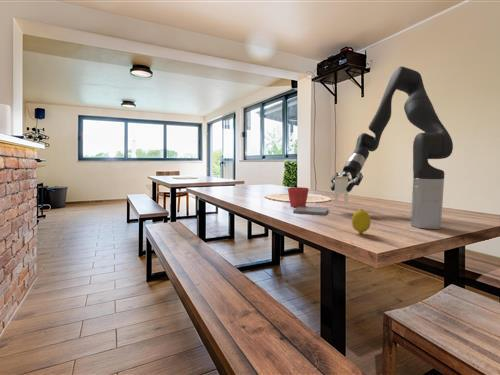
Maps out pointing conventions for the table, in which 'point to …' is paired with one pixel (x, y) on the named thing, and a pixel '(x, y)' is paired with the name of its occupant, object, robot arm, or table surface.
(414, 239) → the table surface
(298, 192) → the flower pot
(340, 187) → the stool
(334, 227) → the table surface
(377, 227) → the table surface
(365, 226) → the lemon
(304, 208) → the trivet
